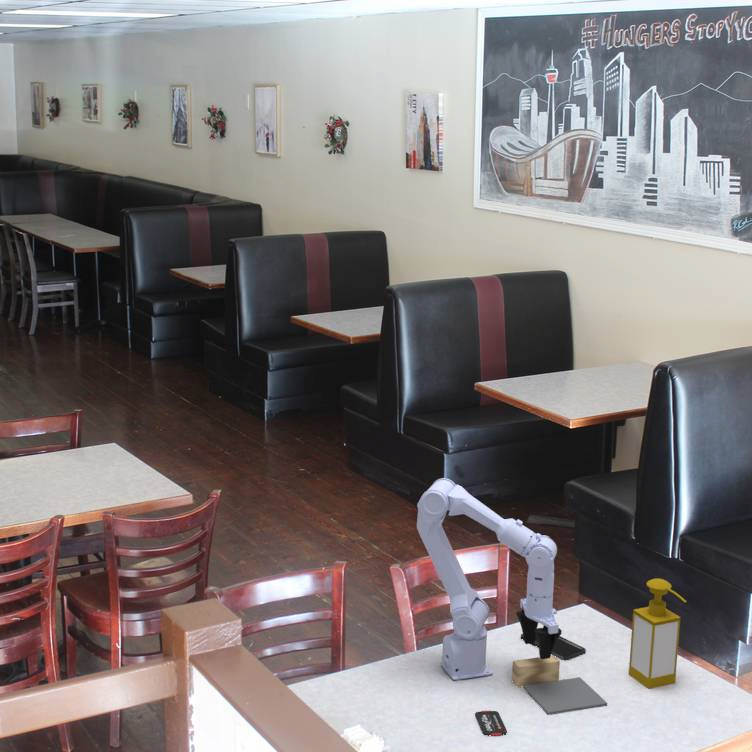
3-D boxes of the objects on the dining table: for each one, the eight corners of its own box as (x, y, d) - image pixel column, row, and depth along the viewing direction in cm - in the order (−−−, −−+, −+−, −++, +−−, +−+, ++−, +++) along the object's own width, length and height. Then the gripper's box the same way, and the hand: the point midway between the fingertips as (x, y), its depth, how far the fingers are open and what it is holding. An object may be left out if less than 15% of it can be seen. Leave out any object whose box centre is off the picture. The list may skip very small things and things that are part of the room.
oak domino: (517, 688, 240) (518, 667, 239) (511, 681, 242) (512, 661, 241) (558, 681, 243) (559, 661, 242) (552, 675, 246) (553, 655, 245)
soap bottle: (664, 700, 235) (673, 597, 230) (628, 674, 247) (635, 576, 242) (691, 694, 238) (700, 592, 233) (654, 668, 249) (662, 571, 245)
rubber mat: (547, 714, 228) (548, 712, 228) (522, 687, 240) (522, 685, 239) (607, 705, 233) (607, 703, 233) (579, 679, 244) (579, 677, 244)
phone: (541, 627, 268) (587, 649, 257) (541, 631, 268) (587, 654, 257) (518, 635, 264) (564, 658, 252) (518, 639, 264) (564, 663, 252)
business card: (508, 733, 220) (484, 735, 219) (508, 737, 220) (484, 738, 220) (497, 710, 229) (473, 711, 229) (497, 712, 229) (473, 714, 229)
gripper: (572, 603, 233) (569, 662, 236) (541, 578, 246) (538, 634, 249) (542, 607, 231) (539, 667, 233) (512, 581, 244) (510, 638, 247)
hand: (537, 650), depth 241 cm, fingers open, 7 cm apart
